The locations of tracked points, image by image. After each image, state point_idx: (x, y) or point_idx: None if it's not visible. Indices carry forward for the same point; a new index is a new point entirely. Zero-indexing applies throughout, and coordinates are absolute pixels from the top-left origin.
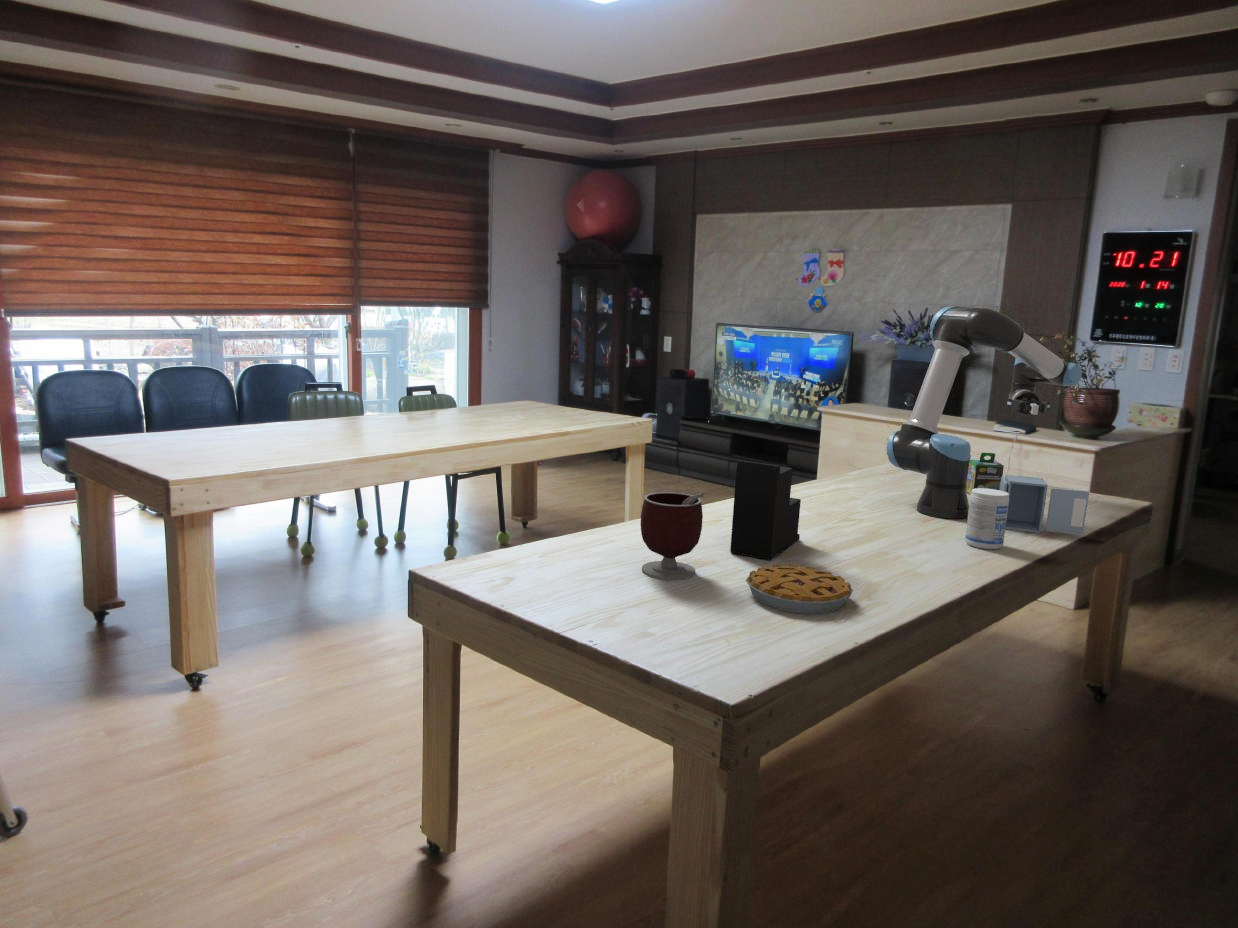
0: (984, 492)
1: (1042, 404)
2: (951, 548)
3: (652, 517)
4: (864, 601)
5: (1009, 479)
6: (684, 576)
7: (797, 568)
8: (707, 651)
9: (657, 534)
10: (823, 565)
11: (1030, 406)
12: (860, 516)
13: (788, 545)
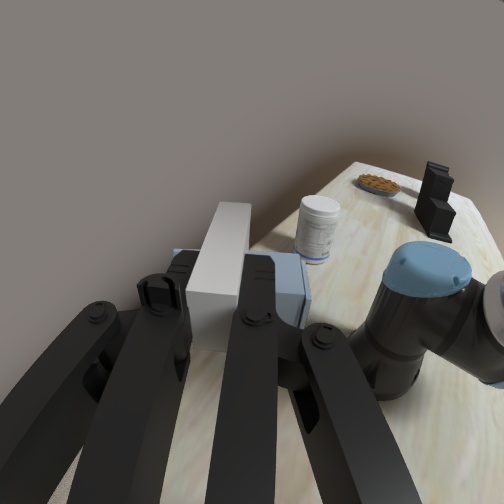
0: (326, 200)
1: (111, 306)
2: (336, 243)
3: None
4: (354, 188)
5: (298, 263)
6: None
7: (386, 185)
8: (375, 171)
9: None
10: (391, 210)
11: (253, 254)
12: None
13: (422, 224)
